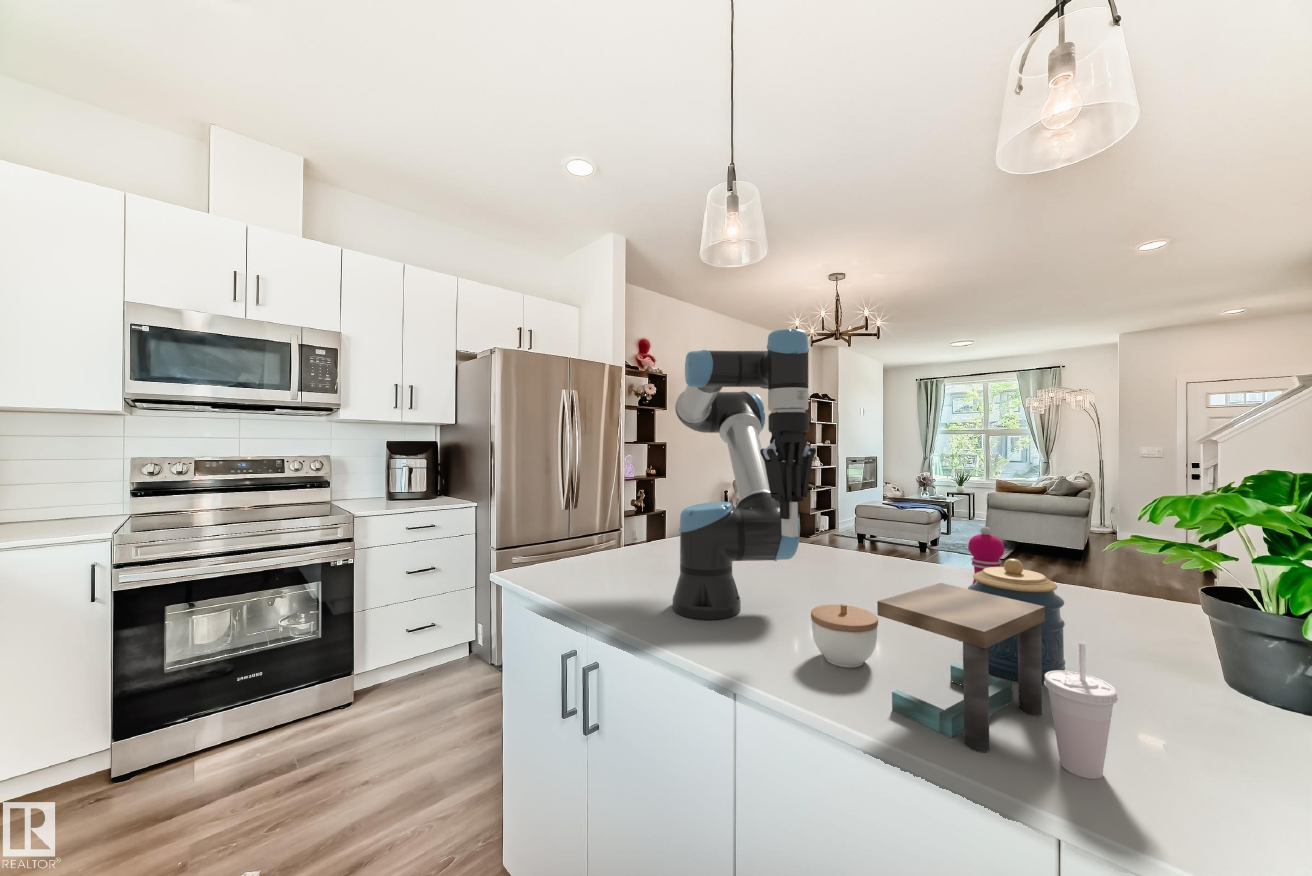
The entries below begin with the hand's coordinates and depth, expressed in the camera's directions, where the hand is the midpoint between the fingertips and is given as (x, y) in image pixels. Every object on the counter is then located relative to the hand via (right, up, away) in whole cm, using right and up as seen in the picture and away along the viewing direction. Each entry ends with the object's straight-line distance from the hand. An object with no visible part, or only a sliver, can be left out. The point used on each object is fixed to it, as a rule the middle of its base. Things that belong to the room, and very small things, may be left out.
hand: (789, 535), depth 97 cm
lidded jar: (+7, -19, -10) cm, 23 cm away
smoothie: (+23, -19, -39) cm, 49 cm away
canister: (+33, -19, -13) cm, 41 cm away
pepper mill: (+40, -19, +4) cm, 45 cm away
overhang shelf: (+17, -19, -26) cm, 36 cm away
